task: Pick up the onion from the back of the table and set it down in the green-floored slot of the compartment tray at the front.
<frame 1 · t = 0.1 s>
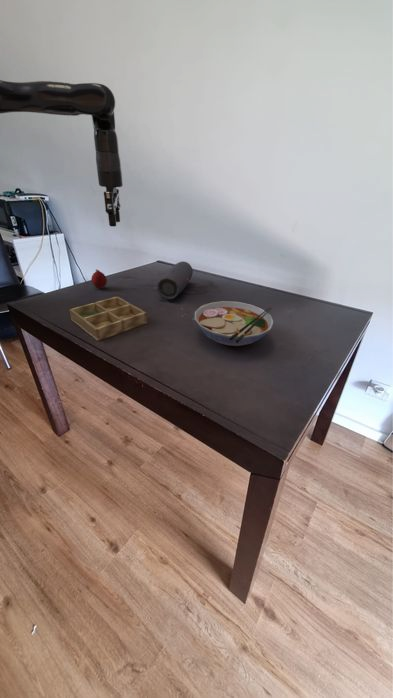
hand: (115, 224, 99), 25 cm above the table, tool pointing down, fingers open, 8 cm apart
onion: (100, 289, 116), on the table
ramen bowl: (230, 339, 86), on the table
compartment tray: (109, 321, 92), on the table
bluetooth speaker: (176, 292, 116), on the table
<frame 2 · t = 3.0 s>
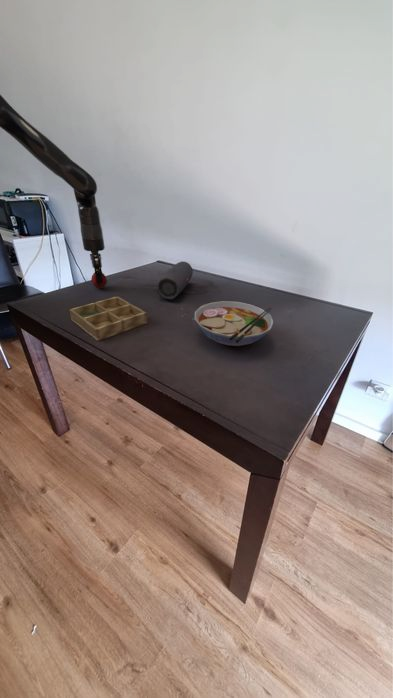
hand: (99, 280, 114), 4 cm above the table, tool pointing down, fingers closed on onion, 6 cm apart
onion: (100, 289, 116), on the table, touching gripper
everything else where it was.
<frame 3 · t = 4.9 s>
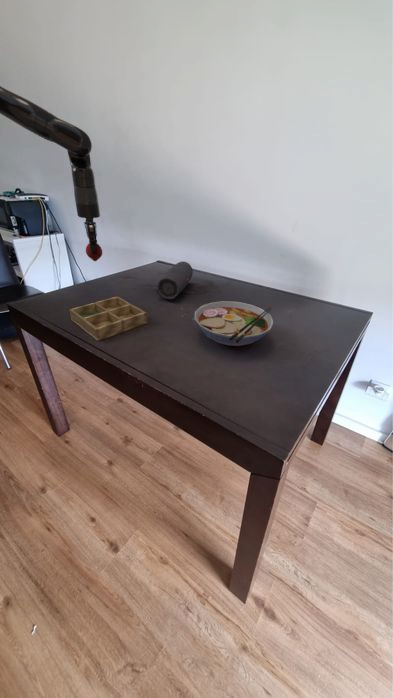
hand: (94, 251, 107), 15 cm above the table, tool pointing down, fingers closed on onion, 6 cm apart
onion: (95, 261, 109), point 11 cm above the table, touching gripper
everything else where it was.
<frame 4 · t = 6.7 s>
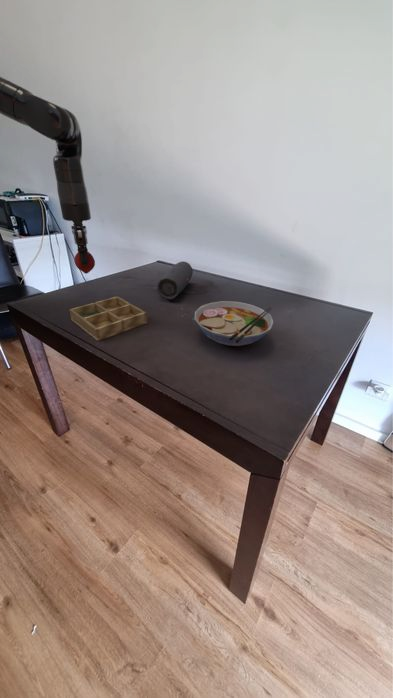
hand: (84, 261, 87), 17 cm above the table, tool pointing down, fingers closed on onion, 6 cm apart
onion: (86, 274, 89), point 14 cm above the table, touching gripper
everything else where it was.
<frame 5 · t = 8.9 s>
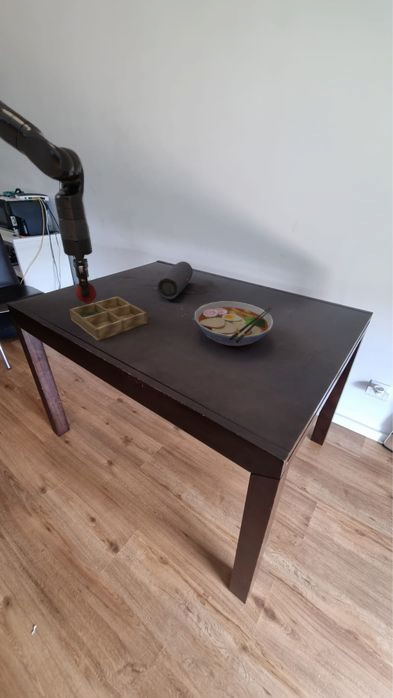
hand: (86, 293, 87), 9 cm above the table, tool pointing down, fingers closed on onion, 6 cm apart
onion: (88, 304, 89), point 6 cm above the table, touching gripper
everything else where it was.
when the fingers open (5 cm above the table, at t = 10.6 s): onion stays where it is, resting on compartment tray.
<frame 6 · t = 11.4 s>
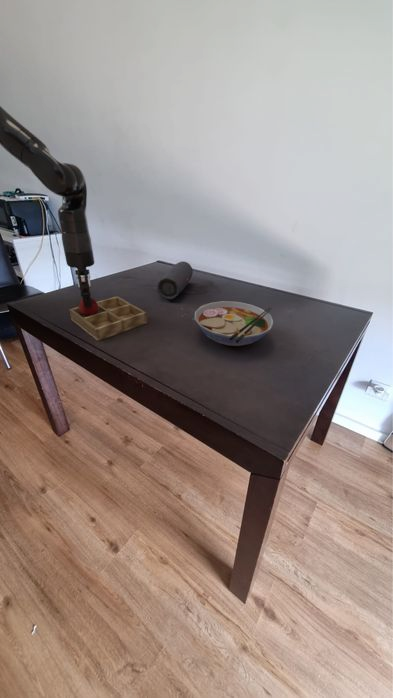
hand: (87, 301, 88), 7 cm above the table, tool pointing down, fingers open, 8 cm apart
onion: (90, 318, 92), point 1 cm above the table, touching compartment tray
everything else where it was.
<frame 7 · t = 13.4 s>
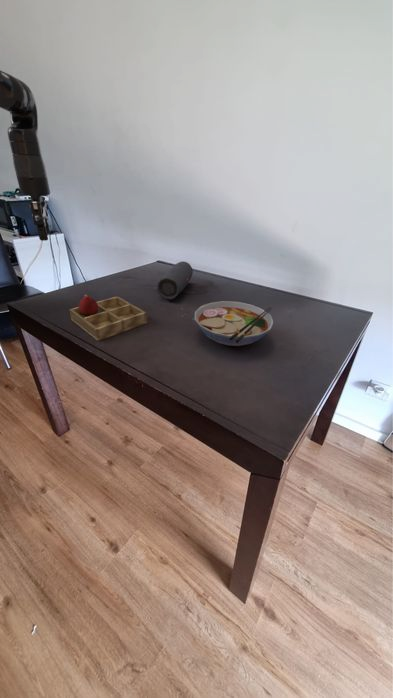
hand: (45, 237, 86), 24 cm above the table, tool pointing down, fingers open, 8 cm apart
nothing on the table moved.
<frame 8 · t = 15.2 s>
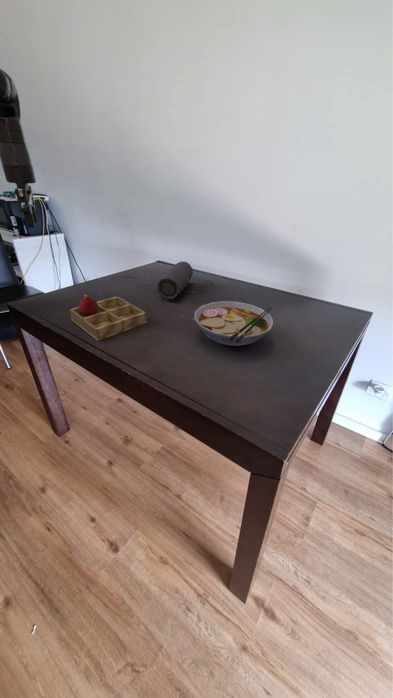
hand: (32, 225, 88), 26 cm above the table, tool pointing down, fingers open, 8 cm apart
nothing on the table moved.
at the end: onion 0.1 cm from the target spot in the compartment tray, point 0.8 cm above the compartment tray's base; the gripper is holding nothing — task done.
